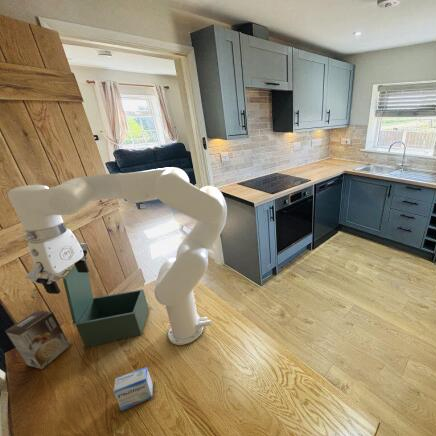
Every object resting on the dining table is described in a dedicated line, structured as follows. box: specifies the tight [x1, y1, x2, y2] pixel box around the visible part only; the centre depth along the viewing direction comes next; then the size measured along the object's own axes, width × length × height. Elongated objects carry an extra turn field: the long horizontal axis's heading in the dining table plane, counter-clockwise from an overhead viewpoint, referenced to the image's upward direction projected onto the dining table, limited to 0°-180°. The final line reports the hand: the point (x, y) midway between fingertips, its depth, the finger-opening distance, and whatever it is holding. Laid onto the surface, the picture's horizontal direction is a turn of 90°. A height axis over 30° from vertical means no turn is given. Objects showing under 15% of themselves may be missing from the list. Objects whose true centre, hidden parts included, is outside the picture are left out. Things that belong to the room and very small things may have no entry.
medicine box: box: [112, 366, 154, 412], centre depth 68 cm, size 8×4×9 cm, turn 118°
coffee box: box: [4, 309, 71, 370], centre depth 78 cm, size 9×6×16 cm
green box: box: [75, 288, 150, 348], centre depth 91 cm, size 18×14×11 cm
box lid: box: [53, 259, 94, 325], centre depth 82 cm, size 18×14×6 cm
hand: (70, 281), depth 71 cm, fingers open, 9 cm apart
